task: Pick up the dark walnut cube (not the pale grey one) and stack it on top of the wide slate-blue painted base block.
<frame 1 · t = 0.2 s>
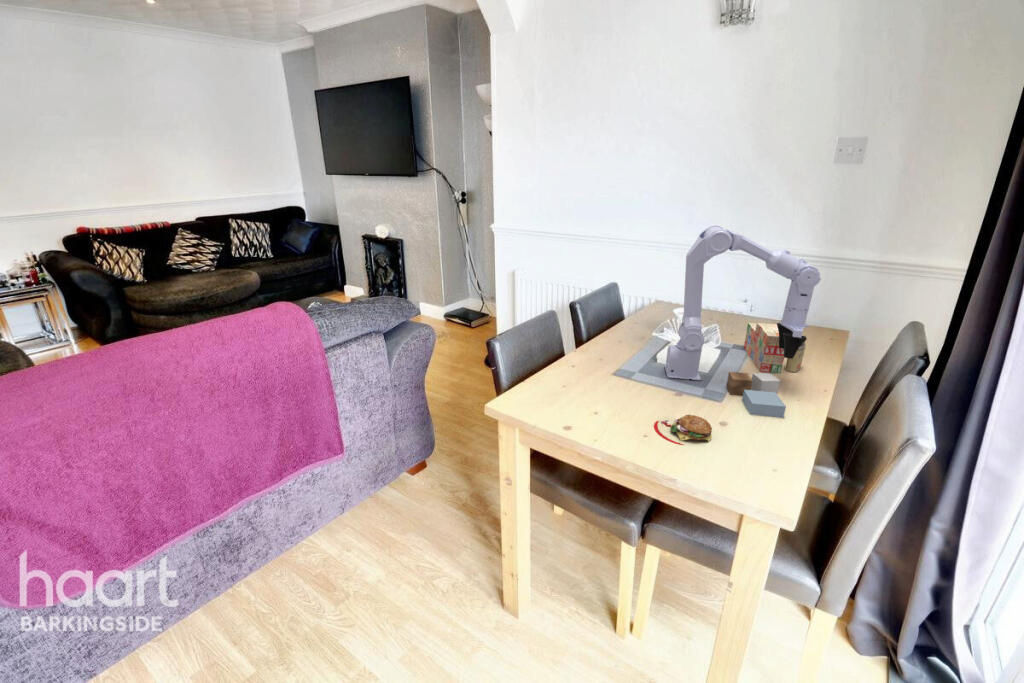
hand: (785, 352, 137), 10 cm above the table, fingers open, 7 cm apart
stack of blocks: (760, 360, 158), on the table
grey cube: (762, 393, 135), on the table
walnut cube: (737, 392, 136), on the table
hamburger: (683, 432, 116), on the table
lighter: (791, 369, 152), on the table
base block: (761, 409, 127), on the table
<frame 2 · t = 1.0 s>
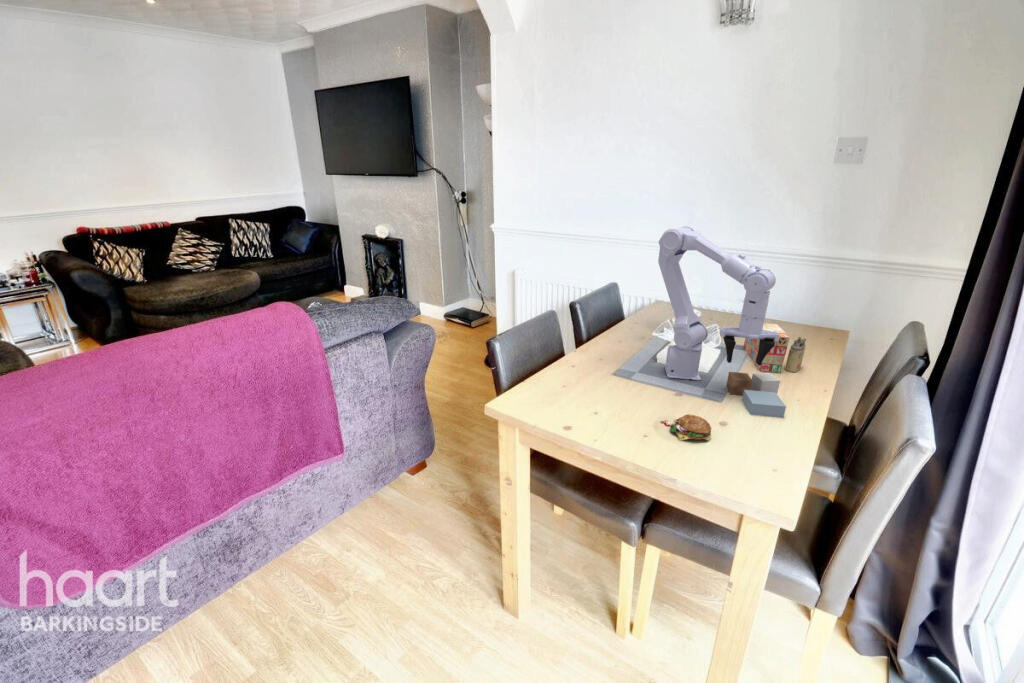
hand: (743, 362, 132), 9 cm above the table, fingers open, 7 cm apart
nothing on the table moved.
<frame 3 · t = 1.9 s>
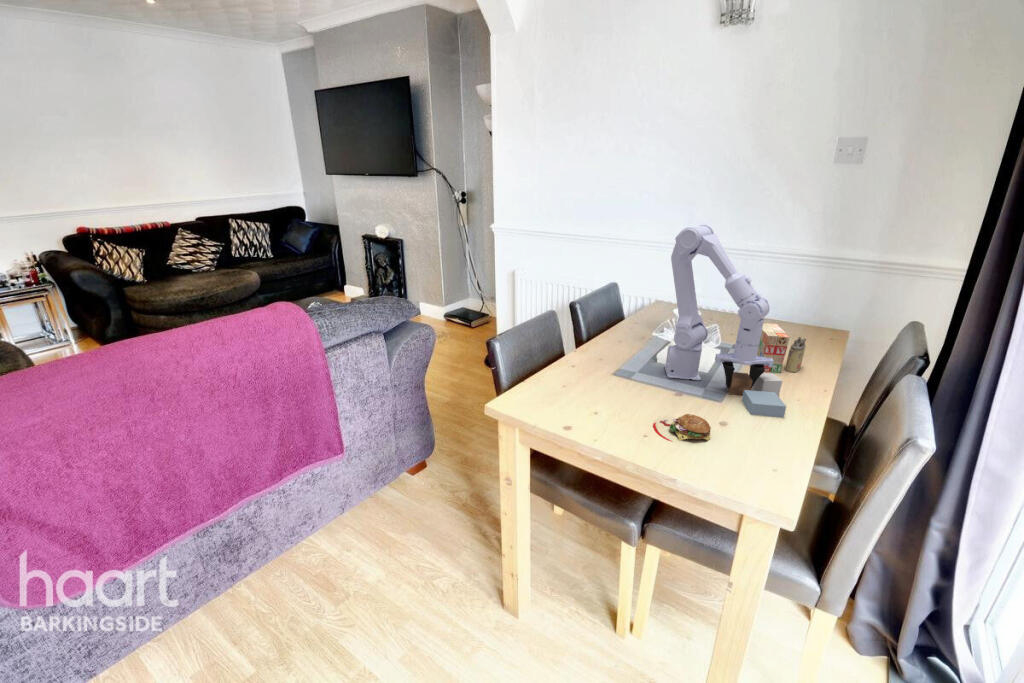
hand: (738, 387, 135), 1 cm above the table, fingers closed on walnut cube, 5 cm apart
walnut cube: (737, 392, 136), on the table, touching gripper
everything else where it was.
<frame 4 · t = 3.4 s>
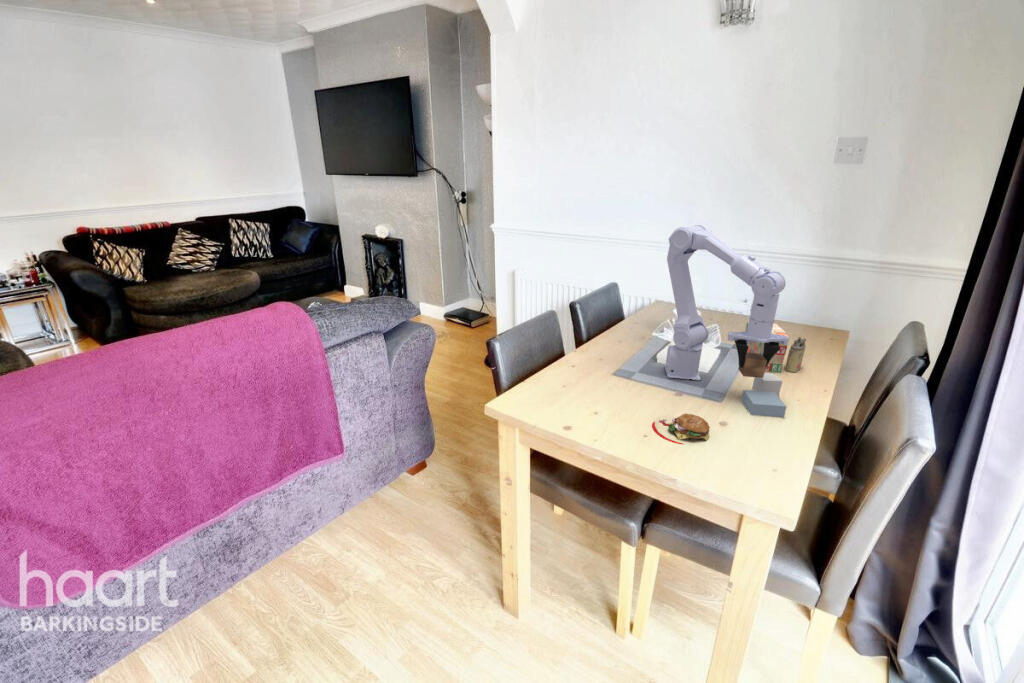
hand: (751, 367, 129), 9 cm above the table, fingers closed on walnut cube, 5 cm apart
walnut cube: (750, 373, 130), point 7 cm above the table, touching gripper
everything else where it was.
when the fingers open (6 cm above the table, at t = 4.7 s): walnut cube drops 1 cm, resting on base block.
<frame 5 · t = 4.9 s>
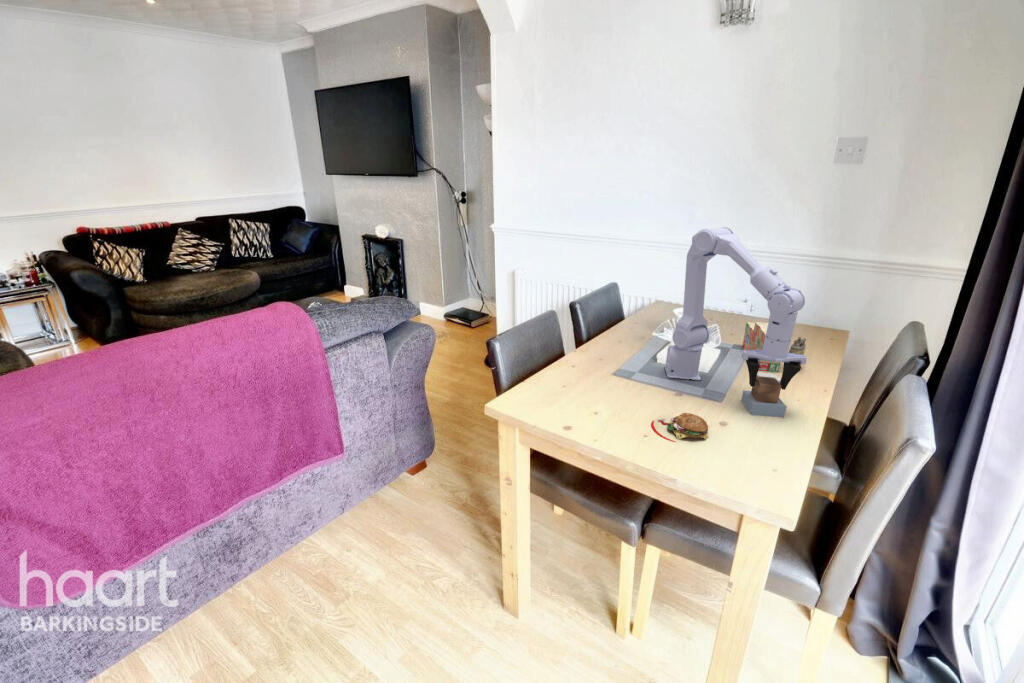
hand: (766, 386, 124), 6 cm above the table, fingers open, 7 cm apart
walnut cube: (763, 398, 126), point 3 cm above the table, touching base block
base block: (761, 409, 127), on the table, touching walnut cube
everything else where it was.
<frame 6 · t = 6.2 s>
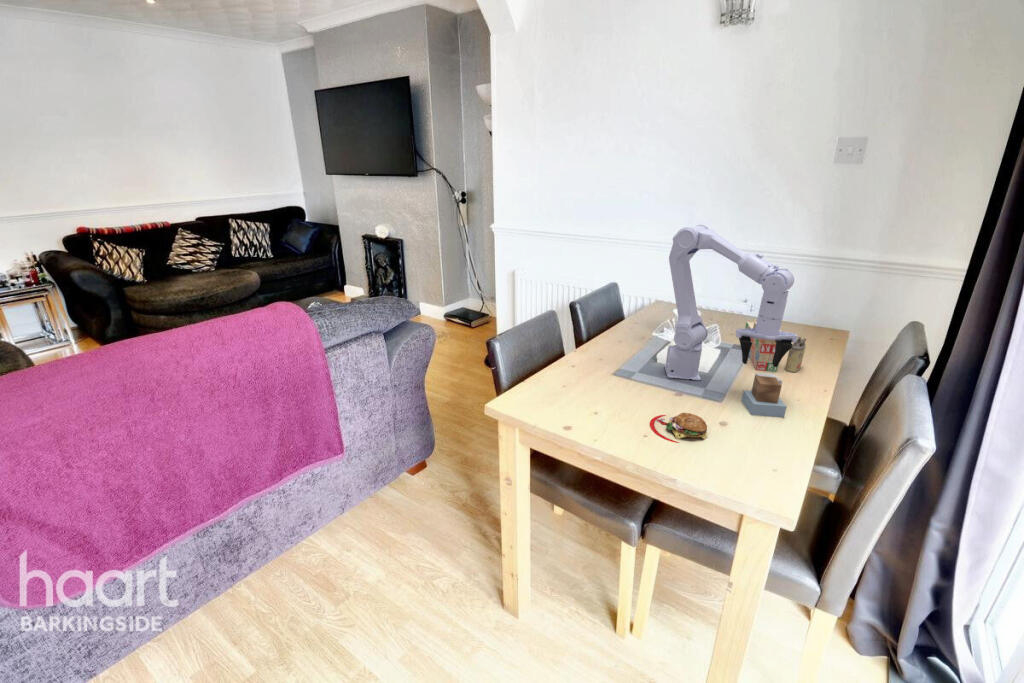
hand: (759, 364, 130), 10 cm above the table, fingers open, 7 cm apart
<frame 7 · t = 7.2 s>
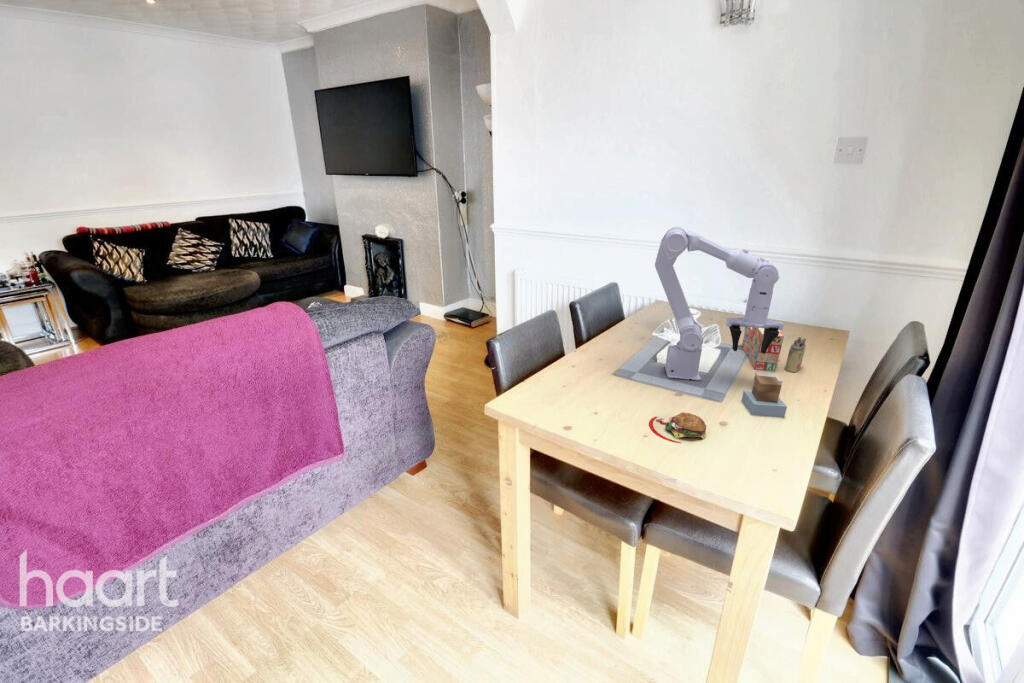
hand: (748, 351, 138), 10 cm above the table, fingers open, 7 cm apart
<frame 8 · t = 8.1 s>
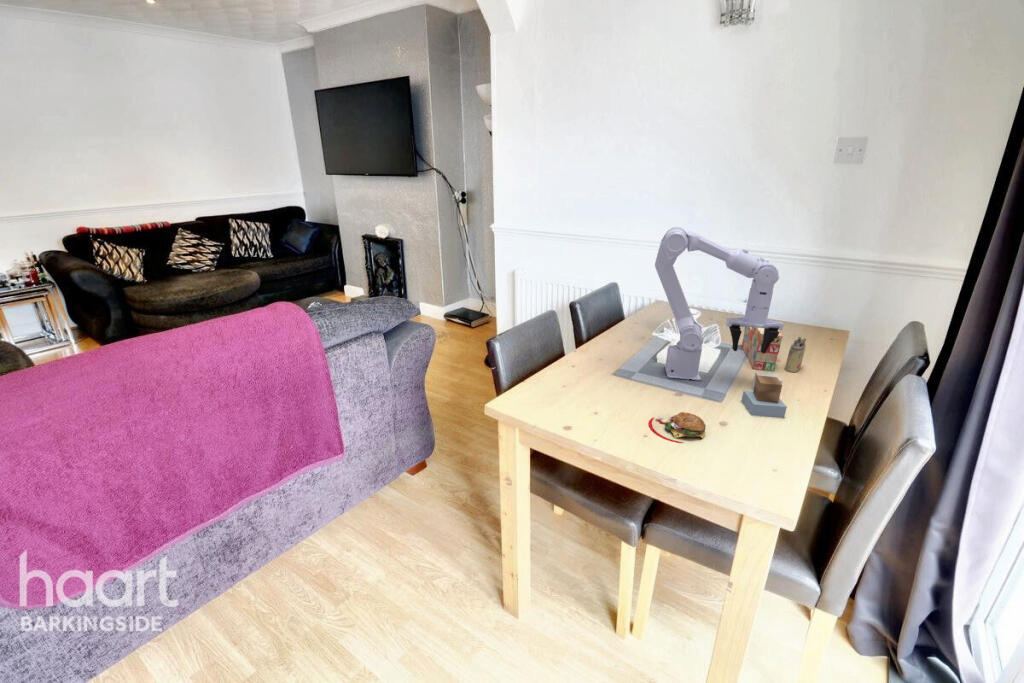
hand: (748, 351, 138), 10 cm above the table, fingers open, 7 cm apart
walnut cube: (765, 397, 126), point 3 cm above the table
base block: (761, 410, 127), on the table
at the end: walnut cube 0.6 cm off-centre on the base block, point 3.6 cm above the base block's base; walnut cube tilted 1°; the gripper is holding nothing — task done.
